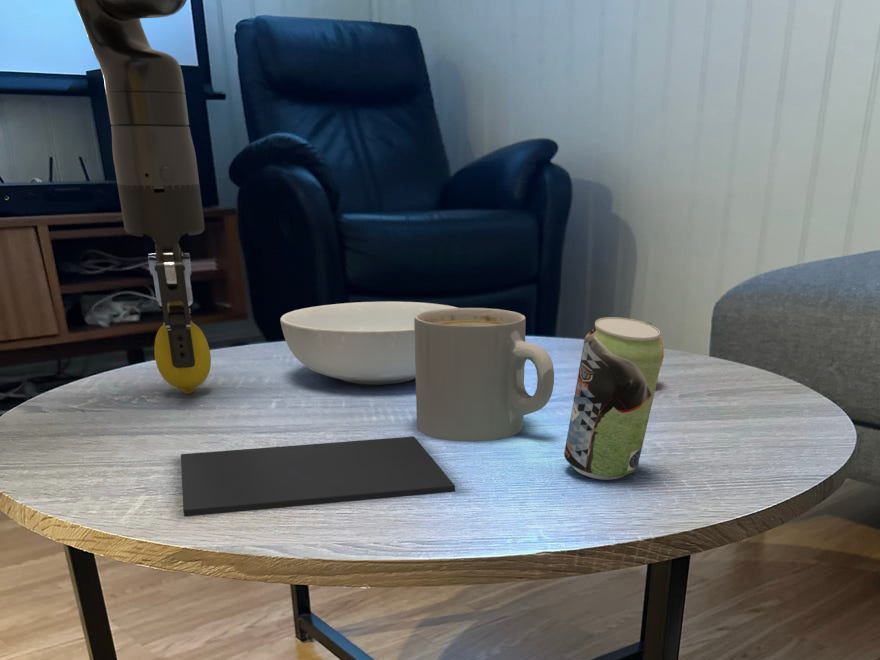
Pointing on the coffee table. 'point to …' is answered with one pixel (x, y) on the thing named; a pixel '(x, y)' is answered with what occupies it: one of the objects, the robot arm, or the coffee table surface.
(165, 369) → the lemon
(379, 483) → the mat
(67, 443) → the coffee table surface
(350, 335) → the serving bowl
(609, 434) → the beverage can
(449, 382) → the coffee mug
